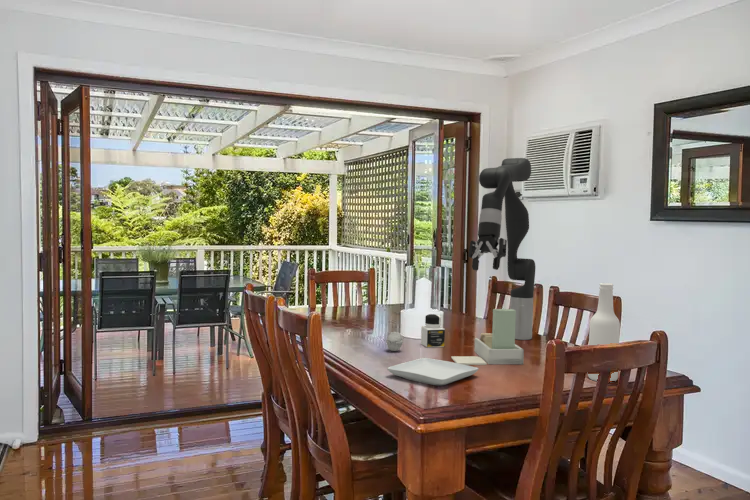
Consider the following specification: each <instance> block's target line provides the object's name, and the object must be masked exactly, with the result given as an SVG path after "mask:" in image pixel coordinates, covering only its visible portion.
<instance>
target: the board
mask: <svg viewBox="0 0 750 500" xmlns="http://www.w3.org/2000/svg"><path fill="white" fill-rule="evenodd" d="M515 322H516V311H515V310H513V309H510V308H494V309H492V332H491V333H492V349H515V344H516V339H515Z"/></svg>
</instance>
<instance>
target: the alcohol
mask: <svg viewBox="0 0 750 500" xmlns="http://www.w3.org/2000/svg"><path fill="white" fill-rule="evenodd" d="M613 290H614V284H613V283H611V282H600V283H599V293H598V303H597V310H596V312H595V313H594V314H593V315H592V317H591V318H590V321H589V332H588V333H589V335H588V346H589V345H597V344H610V343H619V344H620V335H621V333H620V332H621V324H620V320H619V318H618V317H617V315H616V314H615V310H614V291H613ZM598 375H599V374H588V373H587V376H588V378H589V380H591V381H594V382H598V381H597V379H598ZM618 379H619V371H618V372H614V373H612V374H611V378H610V381H615V382H616V381H617V380H618Z"/></svg>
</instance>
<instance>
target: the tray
mask: <svg viewBox="0 0 750 500" xmlns="http://www.w3.org/2000/svg"><path fill="white" fill-rule="evenodd" d="M524 352H525V349H524V348H522V347H520V346H519V345H518V344H516V343H515V349H491V348H489V347H488V346H487V345H486V344H484V343H483V342H482V341H481V340H480V339H479V338H478V337H475V338H474V353H475V354H477V355H478V356H479V357H480V358H482V359H483V360H484V361H485V362H486V363H487V364H488V365H524V359H525V357H524V356H525V355H524V354H525V353H524Z"/></svg>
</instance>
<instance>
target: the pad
mask: <svg viewBox="0 0 750 500" xmlns="http://www.w3.org/2000/svg"><path fill="white" fill-rule="evenodd" d="M450 357H451V360H453V361H454V363H459V364H463V365H468V366H487V364H488V363H487V362H486V361H485V360H483V359H482V358H481V357H480V356H479V355H478V356H473V355H471V356H468V355H467V356H457V355H456V356H455V355H454V356H453V355H452V356H450Z"/></svg>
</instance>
